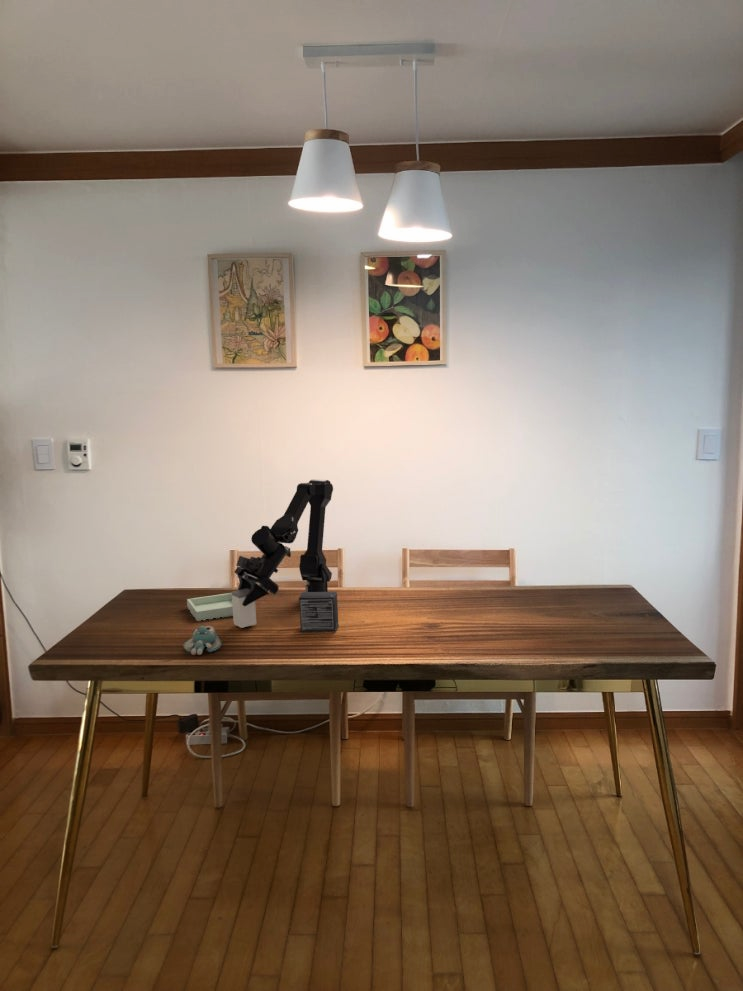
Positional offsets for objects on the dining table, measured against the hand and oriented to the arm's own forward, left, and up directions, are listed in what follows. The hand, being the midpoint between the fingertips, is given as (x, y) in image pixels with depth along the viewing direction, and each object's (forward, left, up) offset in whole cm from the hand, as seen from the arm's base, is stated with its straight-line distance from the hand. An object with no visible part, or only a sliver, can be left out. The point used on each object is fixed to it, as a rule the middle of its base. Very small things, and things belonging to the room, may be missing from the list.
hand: (239, 603), depth 237 cm
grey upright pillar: (-1, 0, -7) cm, 7 cm away
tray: (+3, -20, -7) cm, 22 cm away
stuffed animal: (+14, +14, -8) cm, 21 cm away
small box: (-20, +13, -8) cm, 25 cm away
